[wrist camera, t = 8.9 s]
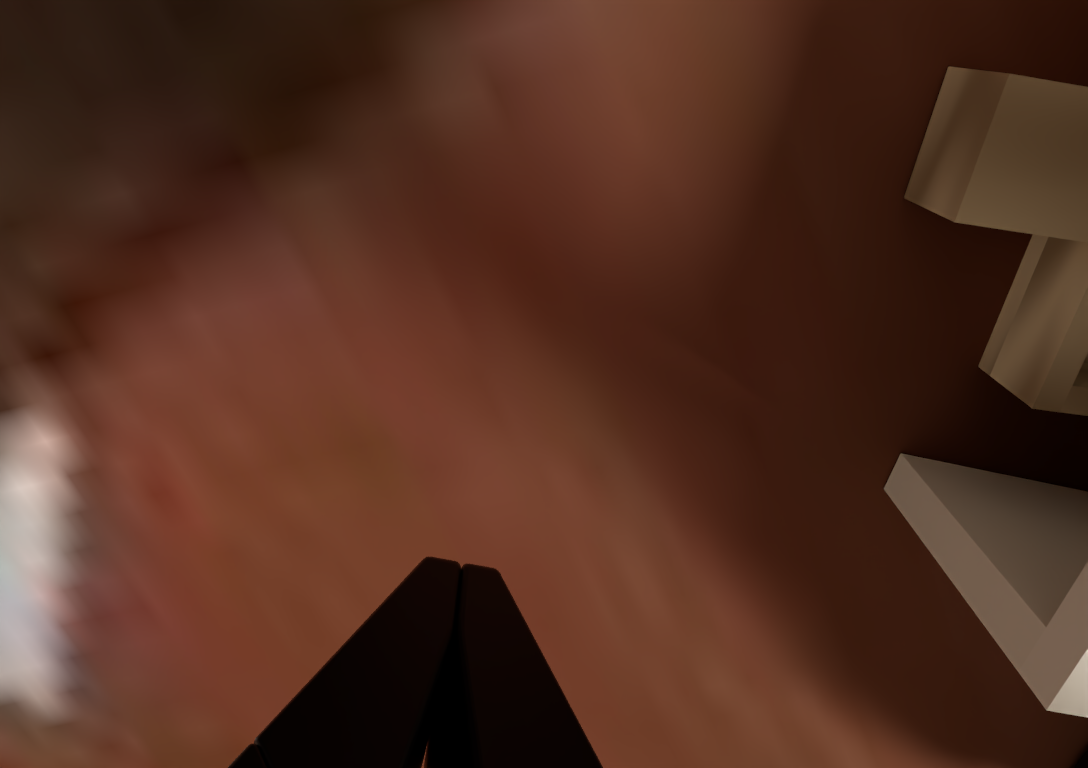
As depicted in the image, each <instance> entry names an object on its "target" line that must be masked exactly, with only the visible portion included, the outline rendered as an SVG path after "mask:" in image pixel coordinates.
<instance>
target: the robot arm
mask: <svg viewBox="0 0 1088 768" xmlns="http://www.w3.org/2000/svg"><path fill="white" fill-rule="evenodd" d="M426 746H427V748H426ZM425 751H426V756H425V763H424V768H603V767H602V765H601V763H600V761H599V759H598V757H597V756H596V754H595V752H594V750H593V748H592V746H591V744H590V742H589V740H588V739H587V737H586V735H585V733H584V731H583V729H582V727H581V725H580V723H579V722H578V720H577V718H576V716H575V714H574V712H573V710H572V708H571V706H570V705H569V703H568V701H567V699H566V697H565V695H564V693H563V691H562V689H561V688H560V686H559V684H558V682H557V680H556V678H555V676H554V674H553V672H552V671H551V669H550V667H549V665H548V663H547V661H546V659H545V657H544V656H543V654H542V652H541V650H540V648H539V646H538V644H537V642H536V640H535V639H534V637H533V635H532V633H531V631H530V629H529V627H528V625H527V623H526V622H525V620H524V618H523V616H522V614H521V612H520V610H519V608H518V606H517V605H516V603H515V601H514V599H513V597H512V595H511V593H510V591H509V589H508V588H507V586H506V584H505V582H504V580H503V578H502V576H501V574H500V573H499V571H498V570H496V569H494V568H490V567H485V566H479V565H474V564H465V565H463V566H462V568H461V566H460V564H459V563H458V562H456V561H452V560H446V559H441V558H436V557H426V558H424V559H423V560H422V561H421V562H420V563H419V564H418V565H417V566H416V567H415V568H414V570H413V571H412V572H411V573H410V574H409V575H408V576H407V577H406V578H405V579H404V580H403V581H402V582H401V583H400V585H399V586H398V587H397V588H396V589H395V590H394V591H393V592H392V593H391V594H390V595H389V596H388V597H387V598H386V599H385V601H384V602H383V603H382V604H381V605H380V606H379V607H378V608H377V609H376V610H375V611H374V612H373V613H372V614H371V616H370V617H369V618H368V619H367V620H366V621H365V622H364V623H363V624H362V625H361V626H360V627H359V628H358V629H357V630H356V632H355V633H354V634H353V635H352V636H351V637H350V638H349V639H348V640H347V641H346V642H345V643H344V644H343V645H342V647H341V648H340V649H339V650H338V651H337V652H336V653H335V654H334V655H333V656H332V657H331V658H330V659H329V660H328V661H327V663H326V664H325V665H324V666H323V667H322V668H321V669H320V670H319V671H318V672H317V673H316V674H315V675H314V676H313V678H312V679H311V680H310V681H309V682H308V683H307V684H306V685H305V686H304V687H303V688H302V689H301V690H300V691H299V692H298V694H297V695H296V696H295V697H294V698H293V699H292V700H291V701H290V702H289V703H288V704H287V705H286V706H285V707H284V709H283V710H282V711H281V712H280V713H279V714H278V715H277V716H276V717H275V718H274V719H273V720H272V721H271V722H270V723H269V725H268V726H267V727H266V728H265V729H264V730H263V731H262V732H261V733H260V734H259V735H258V736H257V737H256V739H255V741H254V744H250V745H248V746H247V748H246V749H245V750H244V751H243V752H242V753H241V754H240V755H239V756H238V757H237V758H236V759H235V760H234V761H233V763H232V764H231V765H230V766H229V767H228V768H421V767H422V763H423V759H424V755H425ZM1075 768H1088V751H1087V752H1086V753H1085V755H1084V756H1083V758H1082V759H1081V760H1080V762H1079V763H1078V765H1077V766H1076V767H1075Z"/></svg>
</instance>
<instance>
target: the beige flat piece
mask: <svg viewBox="0 0 1088 768" xmlns="http://www.w3.org/2000/svg"><path fill="white" fill-rule="evenodd" d="M904 198H905V199H907V200H909V201H911V202H913V203H915V204H917V205H919V206H921V207H924V208H926V209H928V210H930V211H932V212H934V213H936V214H938V215H940V216H942V217H944V218H946V219H949V220H951V221H953V222H956V223H962V224H969V225H975V226H982V227H988V228H995V229H1001V230H1008V231H1014V232H1021V233H1028V234H1033V235H1032V237H1031V240H1030V242H1029V245H1028V247H1027V249H1026V252H1025V254H1024V257H1023V259H1022V261H1021V264H1020V266H1019V269H1018V271H1017V274H1016V276H1015V278H1014V281H1013V283H1012V286H1011V288H1010V290H1009V293H1008V295H1007V298H1006V300H1005V303H1004V305H1003V307H1002V310H1001V312H1000V315H999V317H998V319H997V322H996V324H995V327H994V329H993V332H992V334H991V336H990V339H989V341H988V344H987V346H986V348H985V351H984V353H983V356H982V358H981V361H980V363H979V365H978V367H979V368H980V369H982V370H983V371H984V372H986V373H987V374H988V375H989V376H991V377H992V378H993V379H995V380H996V381H997V382H998V383H1000V384H1001V385H1002V386H1004V387H1005V388H1006V389H1008V390H1009V391H1010V392H1011V393H1013V394H1014V395H1015V396H1017V397H1018V398H1019V399H1020V400H1022V401H1023V402H1024V403H1026V404H1027V405H1028V406H1030V407H1031V408H1032V409H1039V410H1047V411H1054V412H1062V413H1069V414H1077V415H1084V416H1088V87H1085V86H1080V85H1074V84H1068V83H1062V82H1056V81H1050V80H1044V79H1039V78H1033V77H1027V76H1021V75H1015V74H1009V73H1001V72H992V71H984V70H975V69H967V68H959V67H950V66H948V69H947V72H946V75H945V78H944V81H943V83H942V86H941V89H940V92H939V95H938V98H937V101H936V104H935V107H934V110H933V113H932V116H931V119H930V122H929V125H928V128H927V131H926V134H925V137H924V140H923V143H922V145H921V148H920V151H919V154H918V157H917V160H916V163H915V166H914V169H913V172H912V175H911V178H910V181H909V184H908V187H907V190H906V193H905V196H904Z"/></svg>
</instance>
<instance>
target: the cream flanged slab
mask: <svg viewBox="0 0 1088 768" xmlns="http://www.w3.org/2000/svg"><path fill="white" fill-rule="evenodd" d="M884 490H885V492H886V493H887V494H888V496H889V497H890V498H891V500H892V501H893V502H894V504H895V505H896V507H897V508H898V509H899V511H900V512H901V513H902V515H903V516H904V517H905V519H906V520H907V521H908V523H909V524H910V526H911V527H912V528H913V530H914V531H915V532H916V534H917V535H918V536H919V538H920V539H921V541H922V542H923V543H924V545H925V546H926V547H927V549H928V550H929V551H930V553H931V554H932V555H933V557H934V558H935V560H936V561H937V562H938V564H939V565H940V566H941V568H942V569H943V570H944V572H945V573H946V575H947V576H948V577H949V579H950V580H951V581H952V583H953V584H954V585H955V587H956V588H957V590H958V591H959V592H960V594H961V595H962V596H963V598H964V599H965V600H966V602H967V603H968V604H969V606H970V607H971V609H972V610H973V611H974V613H975V614H976V615H977V617H978V618H979V619H980V621H981V622H982V624H983V625H984V626H985V628H986V629H987V630H988V632H989V633H990V634H991V636H992V637H993V638H994V640H995V641H996V643H997V644H998V645H999V647H1000V648H1001V649H1002V651H1003V652H1004V653H1005V655H1006V656H1007V658H1008V659H1009V660H1010V662H1011V663H1012V664H1013V666H1014V667H1015V668H1016V670H1017V671H1018V673H1019V674H1020V675H1021V677H1022V678H1023V679H1024V681H1025V682H1026V683H1027V685H1028V686H1029V687H1030V689H1031V690H1032V692H1033V693H1034V694H1035V696H1036V697H1037V698H1038V700H1039V701H1040V702H1041V704H1042V705H1043V707H1044V708H1045V709H1046V711H1052V712H1058V713H1064V714H1070V715H1075V716H1081V717H1087V718H1088V492H1087V491H1082V490H1077V489H1073V488H1068V487H1063V486H1058V485H1053V484H1048V483H1043V482H1038V481H1034V480H1029V479H1024V478H1019V477H1014V476H1009V475H1004V474H999V473H995V472H990V471H985V470H980V469H975V468H970V467H965V466H960V465H956V464H951V463H946V462H941V461H936V460H931V459H926V458H921V457H917V456H912V455H907V454H902V453H900V456H899V458H898V460H897V462H896V464H895V466H894V468H893V470H892V472H891V475H890V477H889V479H888V481H887V483H886V485H885V487H884Z"/></svg>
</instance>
